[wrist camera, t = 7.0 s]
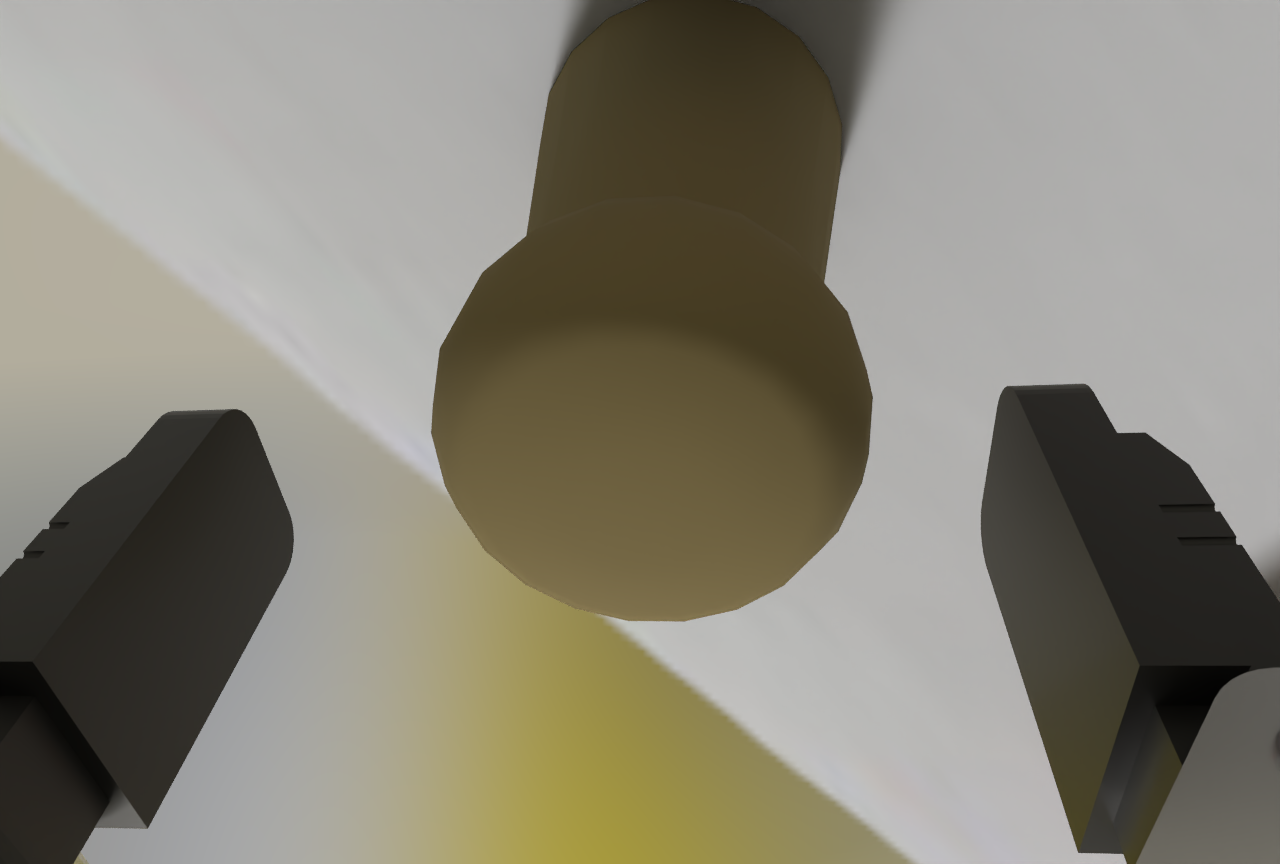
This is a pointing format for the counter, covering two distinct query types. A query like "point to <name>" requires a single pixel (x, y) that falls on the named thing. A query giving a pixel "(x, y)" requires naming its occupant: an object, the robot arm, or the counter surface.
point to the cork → (664, 329)
